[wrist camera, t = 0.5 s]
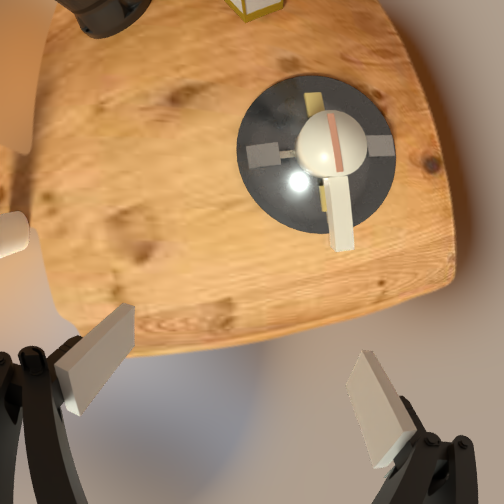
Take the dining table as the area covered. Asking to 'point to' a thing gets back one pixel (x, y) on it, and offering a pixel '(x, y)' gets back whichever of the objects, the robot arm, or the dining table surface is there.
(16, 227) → the container
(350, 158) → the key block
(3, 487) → the robot arm
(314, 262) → the dining table surface
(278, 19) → the dining table surface
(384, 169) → the post base
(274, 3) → the soap bottle
